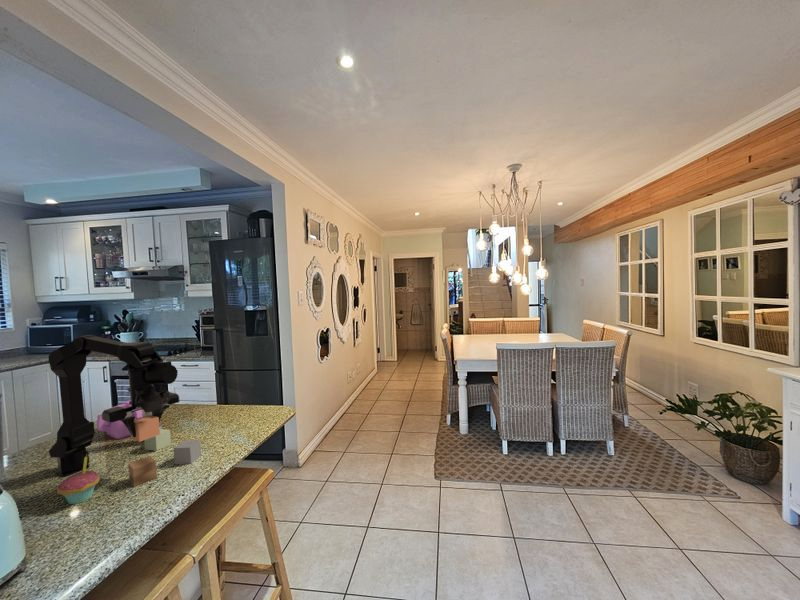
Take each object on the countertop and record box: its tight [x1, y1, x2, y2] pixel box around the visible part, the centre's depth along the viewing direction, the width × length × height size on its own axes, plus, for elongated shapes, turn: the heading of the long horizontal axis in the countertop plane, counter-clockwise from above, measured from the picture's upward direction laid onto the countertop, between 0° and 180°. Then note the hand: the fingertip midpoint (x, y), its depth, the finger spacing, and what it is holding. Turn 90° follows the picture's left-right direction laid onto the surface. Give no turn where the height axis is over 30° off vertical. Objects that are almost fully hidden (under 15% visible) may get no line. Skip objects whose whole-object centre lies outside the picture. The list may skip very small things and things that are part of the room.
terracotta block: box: [130, 415, 160, 443], centre depth 106 cm, size 6×6×6 cm
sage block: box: [143, 428, 172, 452], centre depth 124 cm, size 6×6×6 cm
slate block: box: [172, 439, 202, 465], centre depth 113 cm, size 6×6×6 cm
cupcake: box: [56, 454, 101, 505], centre depth 93 cm, size 9×8×12 cm
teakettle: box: [96, 399, 143, 440], centre depth 139 cm, size 17×17×12 cm
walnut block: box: [128, 455, 158, 488], centre depth 102 cm, size 6×6×6 cm
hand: (145, 433), depth 106 cm, fingers closed on terracotta block, 5 cm apart
